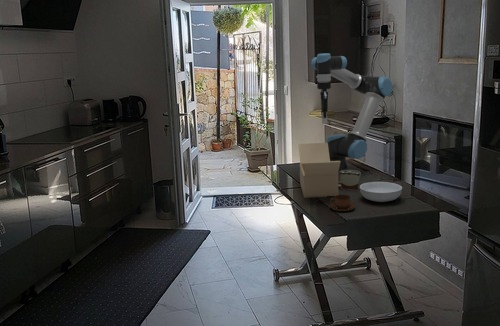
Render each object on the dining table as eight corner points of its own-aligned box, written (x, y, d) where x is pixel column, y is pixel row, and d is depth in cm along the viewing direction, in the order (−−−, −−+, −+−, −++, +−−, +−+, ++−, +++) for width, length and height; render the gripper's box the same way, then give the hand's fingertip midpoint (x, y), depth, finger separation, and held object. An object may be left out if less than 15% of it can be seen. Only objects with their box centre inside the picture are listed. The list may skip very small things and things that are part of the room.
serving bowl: (410, 200, 240) (411, 187, 238) (380, 209, 230) (380, 195, 228) (380, 191, 257) (380, 179, 256) (350, 198, 248) (350, 185, 246)
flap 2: (340, 160, 238) (340, 161, 237) (337, 174, 249) (337, 175, 249) (305, 162, 238) (305, 163, 238) (304, 175, 250) (304, 176, 250)
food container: (363, 187, 266) (363, 170, 263) (360, 190, 260) (360, 172, 258) (341, 186, 271) (341, 168, 268) (338, 189, 265) (338, 171, 263)
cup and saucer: (332, 213, 227) (332, 201, 226) (328, 205, 239) (328, 194, 237) (357, 212, 227) (357, 200, 225) (352, 204, 238) (352, 192, 237)
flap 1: (330, 162, 277) (330, 162, 277) (327, 142, 284) (327, 143, 285) (300, 163, 277) (300, 163, 278) (298, 143, 285) (298, 144, 285)
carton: (331, 182, 279) (330, 162, 277) (338, 196, 252) (338, 174, 249) (300, 183, 280) (299, 163, 277) (304, 197, 253) (303, 175, 250)
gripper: (316, 81, 275) (316, 122, 280) (318, 82, 262) (319, 125, 267) (329, 80, 274) (329, 121, 280) (332, 82, 262) (332, 124, 267)
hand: (324, 123), depth 274 cm, fingers closed
